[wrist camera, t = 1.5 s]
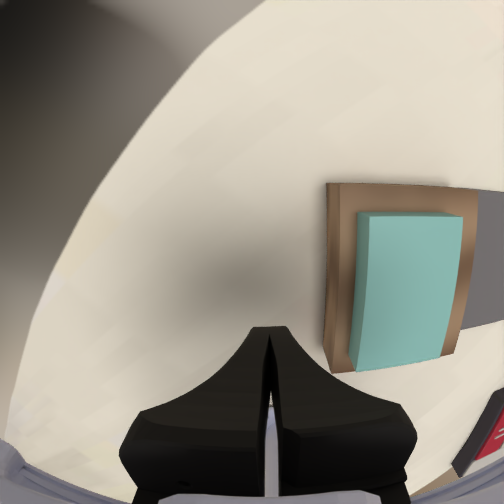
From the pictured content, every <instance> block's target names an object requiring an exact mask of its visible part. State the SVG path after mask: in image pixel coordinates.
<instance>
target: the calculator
mask: <svg viewBox="0 0 504 504" xmlns="http://www.w3.org/2000/svg"><path fill="white" fill-rule="evenodd" d="M503 456H504V388H502V389H499V390H497V391H495V392H494V393H493V394H492V396H491V398H490V400H489V402H488V404H487V405H486V407H485V409H484V411H483V413H482V415H481V417H480V419H479V420H478V422H477V424H476V426H475V428H474V430H473V432H472V433H471V435H470V437H469V439H468V441H467V442H466V444H465V446H464V447H462V448H461V450H460V451H459V453H458V454H457V456H456V457H455V459H454V460H453V462H452V463H451V464H452V466H453V468H454V470H455V471H456V473H457V475H458V477H459V478H460V477H464V476H467V475H469V474H471V473H473V472H475V471H477V470H479V469H481V468H483V467H485V466H487V465H489V464H491V463H493V462H494V461H496V460H498V459H500V458H502V457H503Z"/></svg>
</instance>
